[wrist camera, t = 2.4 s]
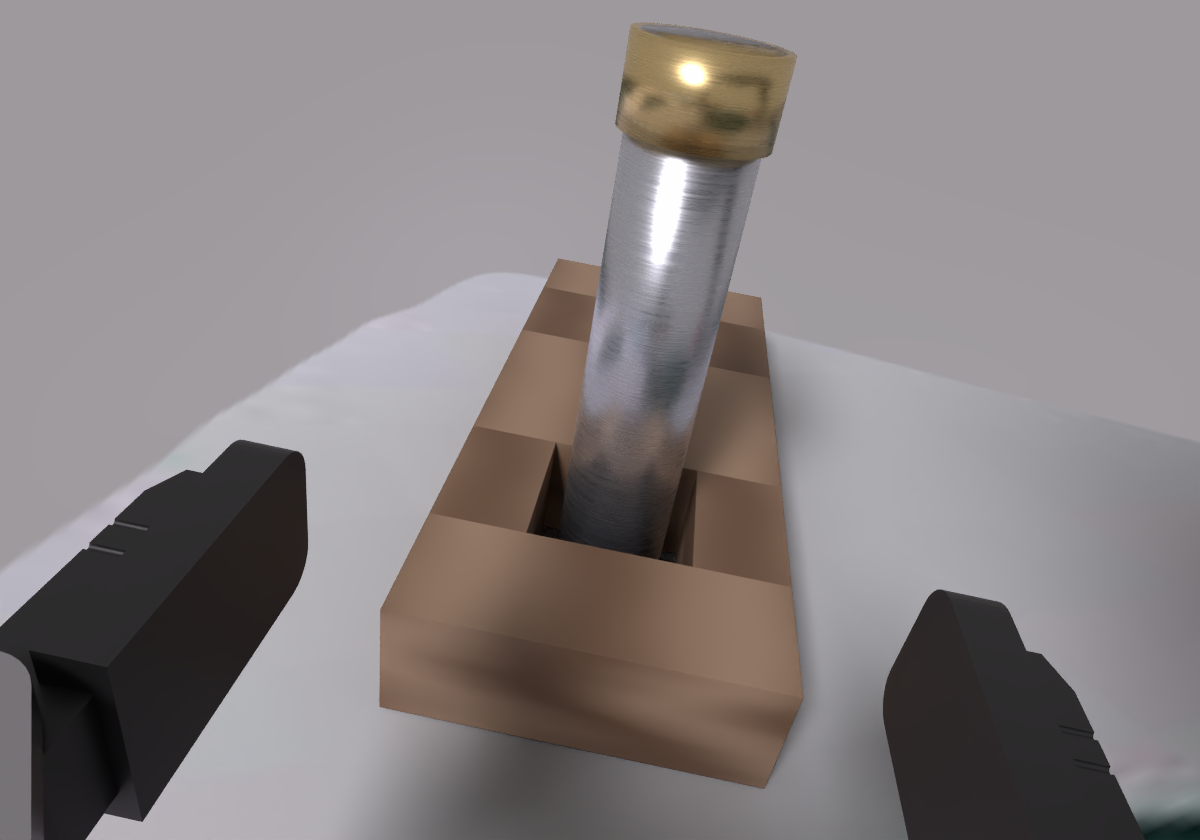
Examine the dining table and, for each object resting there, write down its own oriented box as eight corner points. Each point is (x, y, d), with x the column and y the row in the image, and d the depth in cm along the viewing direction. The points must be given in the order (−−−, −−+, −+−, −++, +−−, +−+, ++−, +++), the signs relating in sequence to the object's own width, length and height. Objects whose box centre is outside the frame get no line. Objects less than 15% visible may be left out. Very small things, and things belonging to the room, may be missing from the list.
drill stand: (743, 361, 41) (760, 297, 39) (764, 788, 20) (803, 698, 19) (549, 323, 41) (558, 258, 39) (379, 706, 21) (380, 609, 19)
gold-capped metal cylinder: (660, 560, 27) (790, 45, 19) (651, 639, 24) (803, 67, 16) (555, 538, 27) (638, 17, 19) (533, 614, 24) (622, 33, 16)
